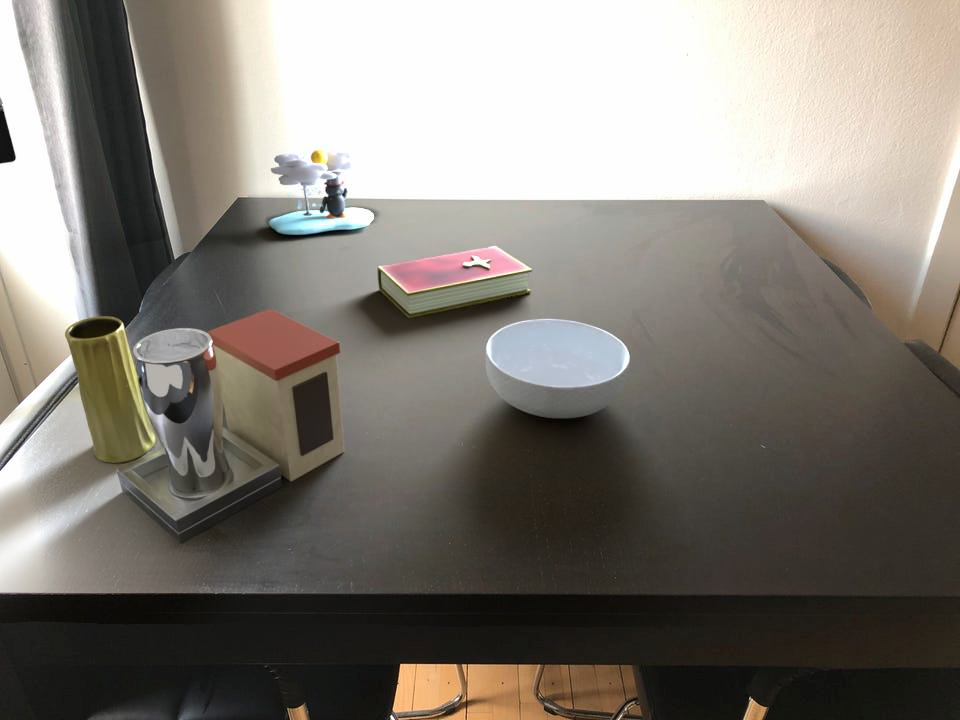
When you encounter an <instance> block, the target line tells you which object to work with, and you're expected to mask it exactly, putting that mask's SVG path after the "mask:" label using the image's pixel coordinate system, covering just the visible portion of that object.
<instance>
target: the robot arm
mask: <svg viewBox="0 0 960 720" xmlns="http://www.w3.org/2000/svg"><path fill="white" fill-rule="evenodd" d="M2 100H3V99H2V98H1V97H0V164H7V163H8V164H9V163H14V162H15V161H16V160H17V155H16V152H15V148H14V144H13V140H12V136H11V132H10V129H9V125H8V121H7V117H6V113H5V110H4V103H3V101H2Z"/></svg>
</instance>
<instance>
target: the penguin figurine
mask: <svg viewBox="0 0 960 720" xmlns="http://www.w3.org/2000/svg"><path fill="white" fill-rule="evenodd" d="M353 158H354V156H353V153H351V152H349V151H329V152H326V151H324V150H322V149H316V150H314V151H313V152H312V153H311V155H310V160H311V163H309V161H308V160H306V159H305V157H303V158H302V156H301V152H300V154H299V153H283V154H282V153H281V154H277V155H275V157H274V158H273V160H274V162H275V163H276V164H278V166H274V167H271V168H270V171H271V173H272V174H274V175H278V176H279V177H278V181H279V184H280V185H282V186H296V185H299V184H300V186H302V187H303V188H301V189H300V191H303V193H302V194H303V195H304V202H305V203H304V206H305V210H302V208H303V203H302V202H303V200H302V201H301V200H300V199H298V200H297V205H298V206H297V207H296V209H297V210H299V211H293V212H289V213H286V214H284V215H280V216H277V217H274V218H271V219H270V220H269V221H268V225H269V226H270V227H271V228H272V229H273V230H274V231H276V232H277V233H279V234H282V235H289V236H290V235H291V236H303V235H312V234H318V233H324V232H329V231H338V230H339V231H340V230H342V231H343V230H356V229H361V228H364V227H367V226H369V225H370V223H371V222H372V221H373V220H374V218H375V216H374V213H373V212H371V211H370V210H369V209H365V208H362V207H346V200H347V195H348V192H349V189H348V188H346V187H344V186H343V185H344V184H345V182H344V181H342V173H341V172H340V171H338V170H343V171H345V170H352V169H355V162H354V161H353V160H352V159H353ZM319 179H321V180H326V182H324V183H323V184H324V185H325V188H324V192H325V193H326V195H324V196H323V197H322V201H321V203H318V208H319V210H316V209H315V210H314V209H313V210H312V209H311V210H310V208H309V207H310V206H312V207H313V208H315V207H317V203H315V202H313V203H311V205H310V203H309V201H310V198H308V196H311V195H313V193H316V192H317V194H319V195H321V194H322V191H321V190H320V189H318V191H317V188H315V186H314V185H317V184H318V183H319V181H320V180H319ZM310 186H313V188H312V191H313V193H311V190H310V188H309V189H308V188H307V187H310ZM287 197H289V199H291V197H293V194H292V193H289V194H287ZM326 210H327V211H326Z"/></svg>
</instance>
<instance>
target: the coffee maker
mask: <svg viewBox="0 0 960 720" xmlns="http://www.w3.org/2000/svg"><path fill="white" fill-rule="evenodd" d="M205 332H206V333H208V334H209V335H210V336H211V338H212V344H213V348H214V351H215V355H216V358H217V362H218V366H219V370H220V375H221V381H222V388H223V411H224V415H225V420H226V425H227V428H226V427H224V426H223V429H222V437H223V446H224V450H225V453H226V455H227V458H228V460H229V462H230V464H231V467H232V470H233V476H232V479H231V480H230V482H229V483H228V484H227V485H226V486H225V487H223V488H222V489H220V490H218V491H216V492H214V493H212V494H210V495H208V496H205V497H200V498H183V497H180V496H177V495H175V494H173V493H172V492H171V491H170V490H169V488H168V483H167V460H166V455H165V452H164V449H163V447H161V449H158V450H156V451H154V452H152V453H150V454H147V455H145V456H143V457H140V458H139V459H135V460H133V461H132V462H129V463H128V464H126V465H123V466H122V467H119V468H117V469H116V473H117V476H118V481H119V484H120V488H121V491H122V493H124V494H125V495H126V496H127V497H128V498H129V499H130V500H132V502H134V504H136V505H137V506H138V507H139V508H140V509H142V510H143V511H144V512H145V513H146V514H147V515H148V516H149V517H150V518H152V519H153V520H154V521H155V522H156V523H157V524H158V525H159V526H161V528H163V529H164V530H165V531H166V532H167V533H169V534H170V535H171V536H172V537H173V538H174V539H175V540H176V541H177V542H179V544H182V543H184V542H186V541H188V540H190V539H191V538H192V539H193V537H195V536H197V535H199V534H200V533H202V532H205V530H208V529H210V528H211V527H213V526H215V525H217V524H218V523H220V522H222V521H224V520H225V519H227V518H229V517H231V516H232V515H234V514H236V513H238V512H239V511H241V510H243V509H245V508H247V507H248V506H250V505H252V504H254V503H255V502H258V501H259V500H261V499H262V498H264V497H266V496H268V495H270V494H271V493H273V492H276V491H277V490H278V489H281V488H282V487H283V481H282V477H284V478H285V479H286V480H288V481H289V482H293V481H294V480H296V479H298V478H300V477H302V476H304V475H306V474H308V472H311V471H312V470H314V469H316V468H318V467H320V466H322V465H323V464H326V463H327V462H329V461H330V460H332V459H333V458H336V457H338V456H339V455H341V454H342V453H344V452H345V451H346V450H345V439H344V429H343V417H342V416H343V415H342V405H341V395H340V394H341V393H340V384H339V382H340V381H339V374H338V373H339V372H338V360H337V355H338V354H341V345H340V341H337V340H335V339H334V338H331V337H329V336H327V335H325V334H323V333H321V332H319V331H317V330H315V329H312V328H311V327H309V326H307V325H304V324H302V323H300V322H299V321H297V320H294V319H293V318H291V317H288V316H286V315H284V314H282V313H280V312H278V311H276V310H273V309H272V308H268V309H265V310H262V311H259V312H257V313H254V314H251V315H248V316H245V317H243V318H240V319H237V320H235V321H232V322H230V323H227V324H223V325H220V326H218V327H215V328H213V329H210V330H207V331H205Z"/></svg>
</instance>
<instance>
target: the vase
mask: <svg viewBox="0 0 960 720" xmlns="http://www.w3.org/2000/svg"><path fill="white" fill-rule="evenodd" d="M64 337H65V339H66V341H67V344H68V347H69V350H70V351H69V352H70V354H71V355H70V356H71V358H72V362H73V366H74V370H75V373H76V377H77V381H78V387H79V394H80V398H81V403H82V408H83V410H84V413H85V414H84V415H85V418H86V419H85V420H86V422H87V427H88V430H89V433H90V437H91V441H92V448H93V452H92V453H93V455H94V457H95V458H96V459H98V460H99V461H101V462H104V463H109V464H110V463H111V464H119V463H126V462H130V461H134V460H137V459H138V458H141V457H142V456H144V455H146V454H147V453H148V452H149V451H151V450H152V448H153V447H154V446H155V443H156V435H155V432H154V429H153V426H152V424H151V422H150V420H149V417H148V415H147V412H146V410H145V407H144V405H143V401H142V397H141V394H140V389H139V384H138V379H137V372H136V366H135V364H134V363H135V362H134V360H133V357H132V354H131V353H132V352H131V349H130V345H129V342H128V338H127V334H126V330H125V325H124V323H123V322H122V320H121V319H120V318H117V317H114V316H107V315H106V316H102V315H101V316H93V317H87V318H84V319H82V320H78V321H76V322H74V323H72V324H71V325H69V326H68V327H67V329H65V331H64Z"/></svg>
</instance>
